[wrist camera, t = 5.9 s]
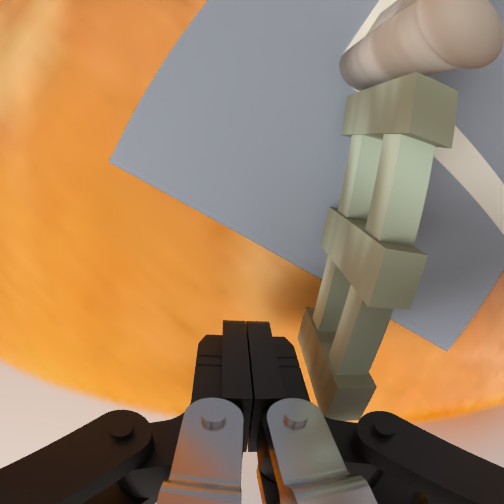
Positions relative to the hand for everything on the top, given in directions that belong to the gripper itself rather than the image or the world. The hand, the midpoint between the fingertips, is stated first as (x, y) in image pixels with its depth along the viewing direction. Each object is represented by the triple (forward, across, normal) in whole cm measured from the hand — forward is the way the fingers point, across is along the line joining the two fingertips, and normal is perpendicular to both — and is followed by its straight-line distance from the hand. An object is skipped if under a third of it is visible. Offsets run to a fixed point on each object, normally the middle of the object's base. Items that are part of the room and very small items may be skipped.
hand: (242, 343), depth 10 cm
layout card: (+2, -7, -10) cm, 12 cm away
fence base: (+2, -6, -14) cm, 15 cm away
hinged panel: (+2, -3, -4) cm, 5 cm away
